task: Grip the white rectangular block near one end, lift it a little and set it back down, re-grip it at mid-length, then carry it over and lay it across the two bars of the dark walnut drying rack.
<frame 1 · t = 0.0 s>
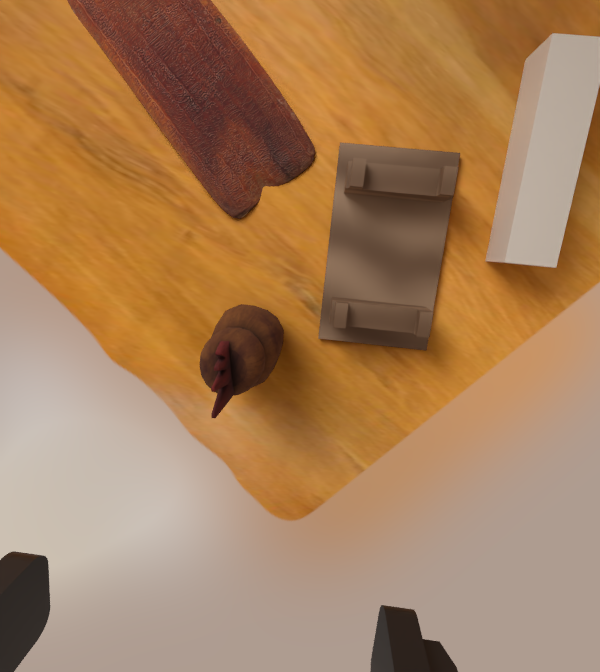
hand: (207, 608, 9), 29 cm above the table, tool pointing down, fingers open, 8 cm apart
white rectangular block: (527, 168, 34), on the table
wooden figurine: (256, 334, 38), on the table
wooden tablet: (186, 64, 34), on the table
rack: (384, 251, 36), on the table
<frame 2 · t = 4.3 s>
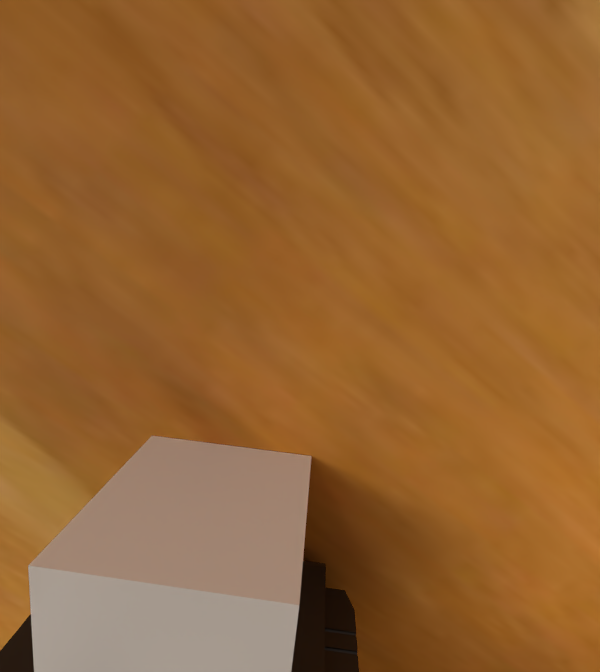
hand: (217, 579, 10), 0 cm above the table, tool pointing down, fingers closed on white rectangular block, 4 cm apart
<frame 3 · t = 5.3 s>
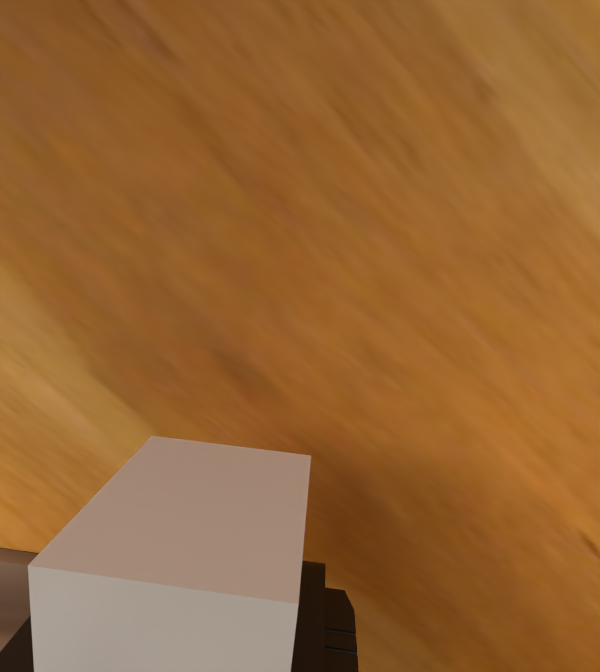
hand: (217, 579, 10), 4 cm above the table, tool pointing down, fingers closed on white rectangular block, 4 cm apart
when the fingers open (0 cm above the table, at t = 6.5 s): white rectangular block stays where it is, on the table.
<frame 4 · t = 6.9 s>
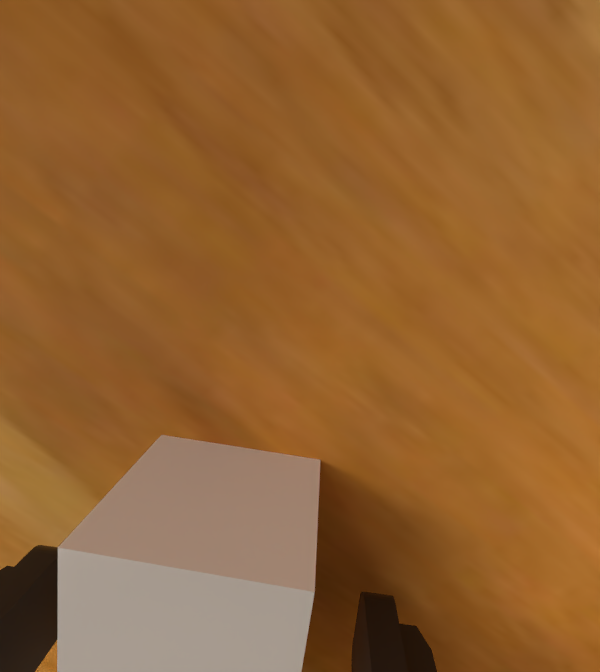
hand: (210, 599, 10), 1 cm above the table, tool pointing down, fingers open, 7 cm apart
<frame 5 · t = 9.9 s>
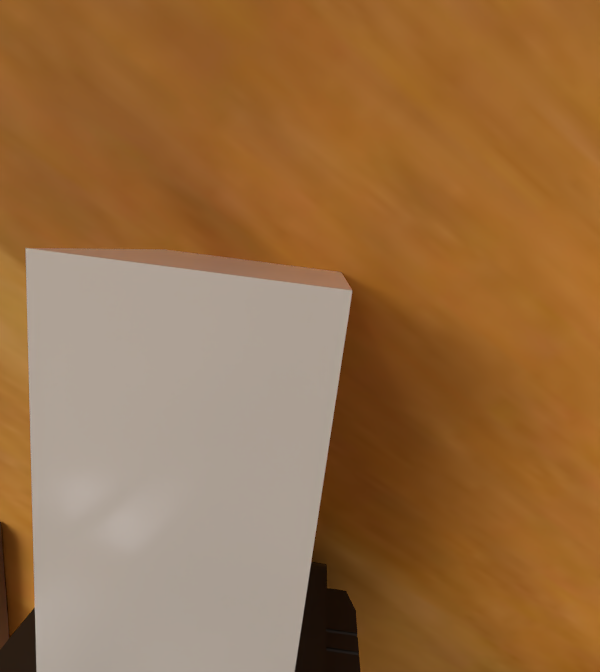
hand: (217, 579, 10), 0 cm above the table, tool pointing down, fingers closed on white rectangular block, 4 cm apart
white rectangular block: (222, 564, 11), on the table, touching gripper
when the fingers open (5 cm above the table, at t = 14.7 s): white rectangular block stays where it is, resting on rack.
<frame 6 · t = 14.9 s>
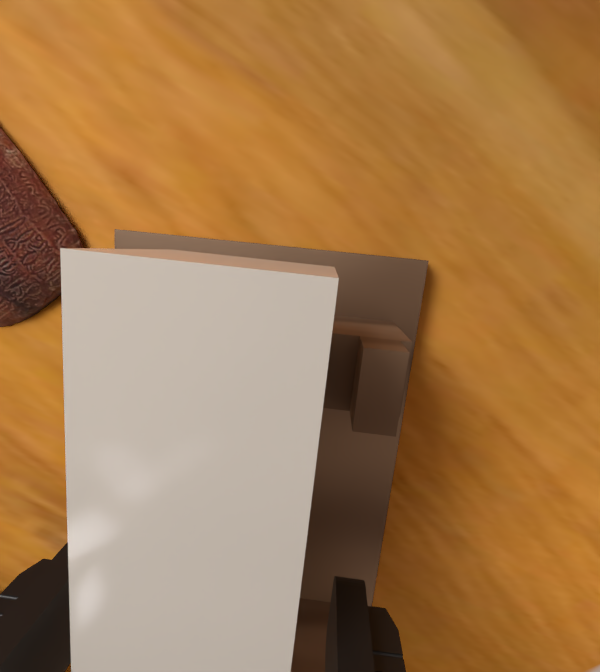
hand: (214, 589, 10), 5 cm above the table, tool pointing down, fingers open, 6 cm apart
white rectangular block: (231, 541, 11), point 4 cm above the table, touching rack
rack: (252, 476, 15), on the table
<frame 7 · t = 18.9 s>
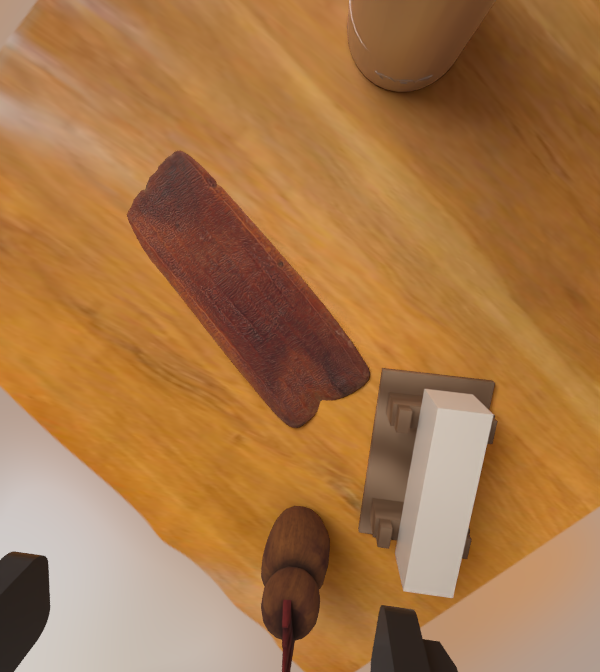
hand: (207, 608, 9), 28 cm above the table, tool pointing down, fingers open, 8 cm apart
white rectangular block: (431, 477, 35), point 4 cm above the table, touching rack
wooden figurine: (299, 523, 41), on the table
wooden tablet: (248, 293, 37), on the table
rack: (421, 458, 38), on the table
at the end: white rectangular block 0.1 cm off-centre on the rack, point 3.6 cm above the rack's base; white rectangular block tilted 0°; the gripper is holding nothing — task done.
